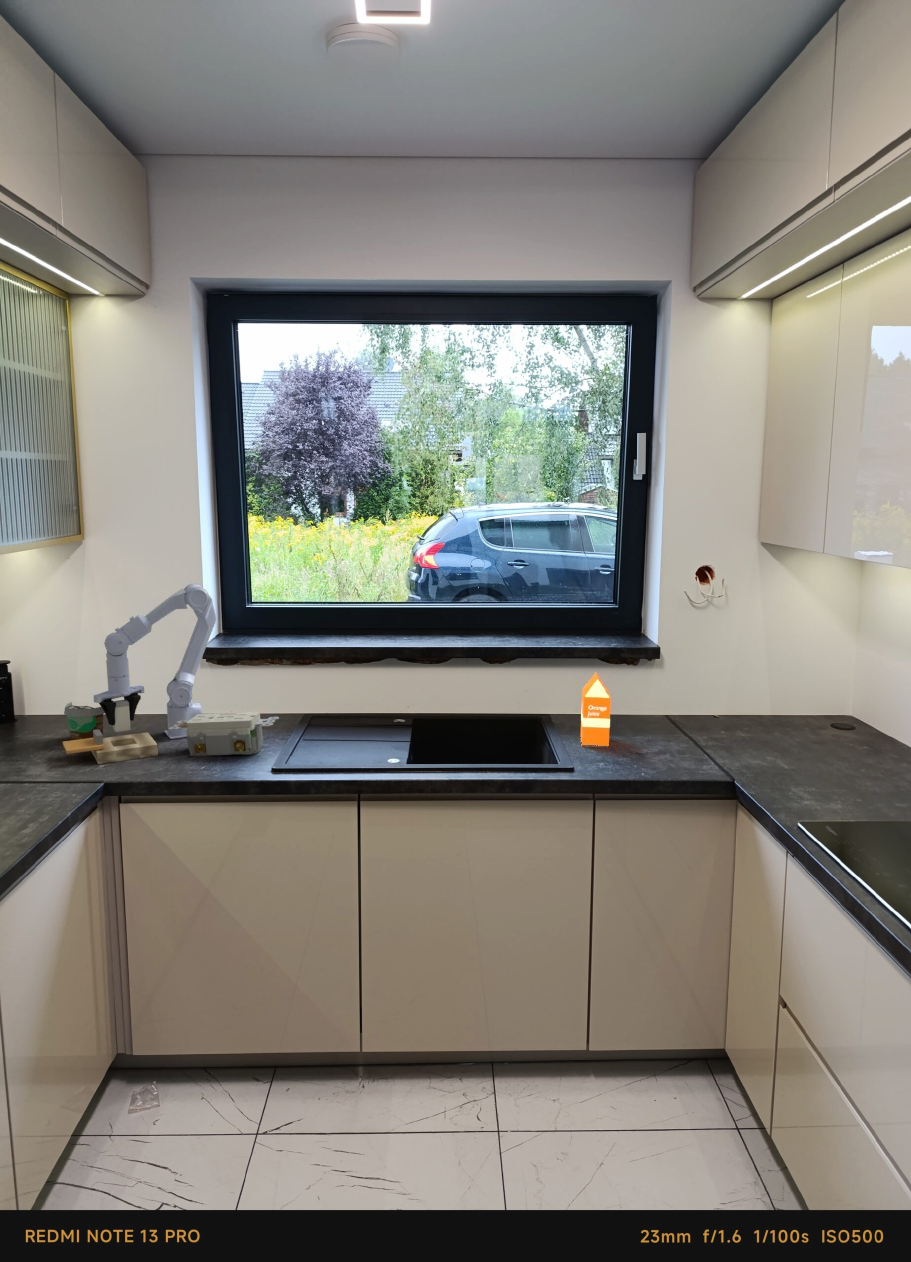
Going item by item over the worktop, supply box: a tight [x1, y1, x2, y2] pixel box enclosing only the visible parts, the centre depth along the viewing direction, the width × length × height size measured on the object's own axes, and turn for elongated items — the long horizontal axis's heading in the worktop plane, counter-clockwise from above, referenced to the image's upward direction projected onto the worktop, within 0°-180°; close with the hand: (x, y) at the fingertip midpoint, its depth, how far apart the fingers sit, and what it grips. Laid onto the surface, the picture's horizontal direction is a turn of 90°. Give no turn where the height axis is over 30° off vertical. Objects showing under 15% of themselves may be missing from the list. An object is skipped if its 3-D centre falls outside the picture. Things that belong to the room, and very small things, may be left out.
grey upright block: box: [112, 699, 132, 733], centre depth 238 cm, size 4×4×8 cm
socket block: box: [90, 731, 159, 765], centre depth 228 cm, size 15×13×3 cm
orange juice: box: [580, 672, 612, 746], centre depth 240 cm, size 8×9×20 cm
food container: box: [63, 702, 105, 741], centre depth 237 cm, size 12×6×10 cm, turn 71°
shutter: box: [62, 729, 104, 755], centre depth 222 cm, size 9×9×3 cm
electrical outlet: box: [167, 711, 280, 757], centre depth 230 cm, size 12×28×10 cm, turn 87°
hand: (121, 722), depth 238 cm, fingers closed on grey upright block, 5 cm apart
